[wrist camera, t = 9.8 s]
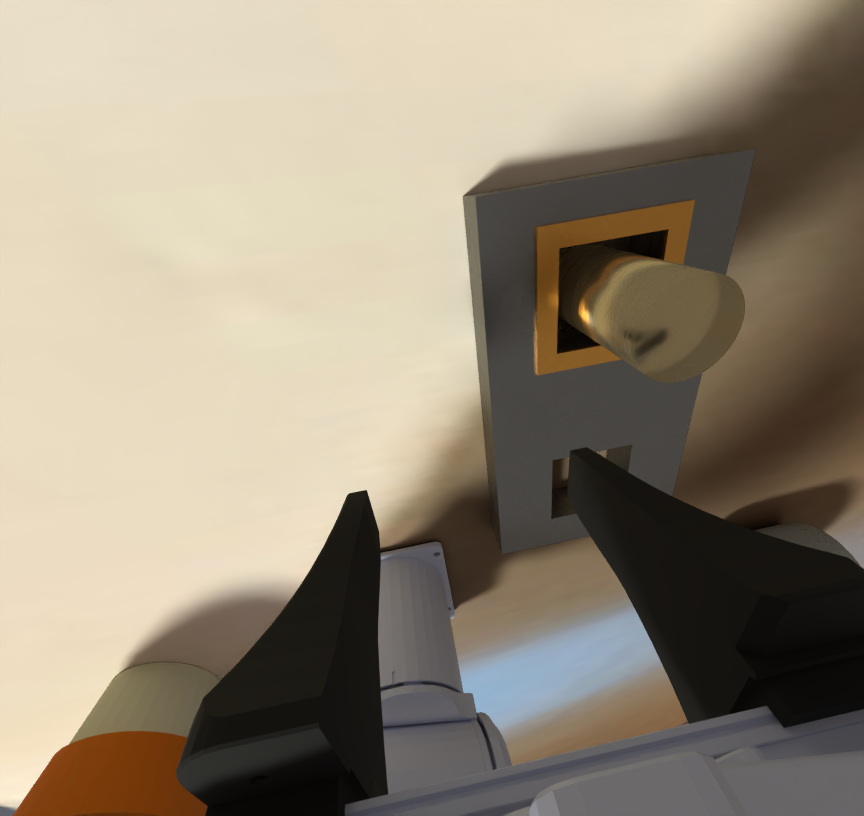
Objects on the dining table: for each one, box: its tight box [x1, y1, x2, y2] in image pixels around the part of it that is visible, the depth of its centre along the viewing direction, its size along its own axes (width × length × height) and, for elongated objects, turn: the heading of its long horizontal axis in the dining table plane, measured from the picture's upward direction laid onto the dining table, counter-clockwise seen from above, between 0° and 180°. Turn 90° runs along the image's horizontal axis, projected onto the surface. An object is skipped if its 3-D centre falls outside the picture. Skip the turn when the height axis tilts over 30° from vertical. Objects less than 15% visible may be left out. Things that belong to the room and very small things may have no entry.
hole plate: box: [463, 149, 756, 554], centre depth 22 cm, size 22×12×3 cm, turn 8°
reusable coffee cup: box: [13, 662, 220, 816], centre depth 27 cm, size 13×13×15 cm
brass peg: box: [558, 244, 745, 383], centre depth 17 cm, size 4×4×8 cm
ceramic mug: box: [754, 522, 860, 566], centre depth 31 cm, size 11×8×8 cm
